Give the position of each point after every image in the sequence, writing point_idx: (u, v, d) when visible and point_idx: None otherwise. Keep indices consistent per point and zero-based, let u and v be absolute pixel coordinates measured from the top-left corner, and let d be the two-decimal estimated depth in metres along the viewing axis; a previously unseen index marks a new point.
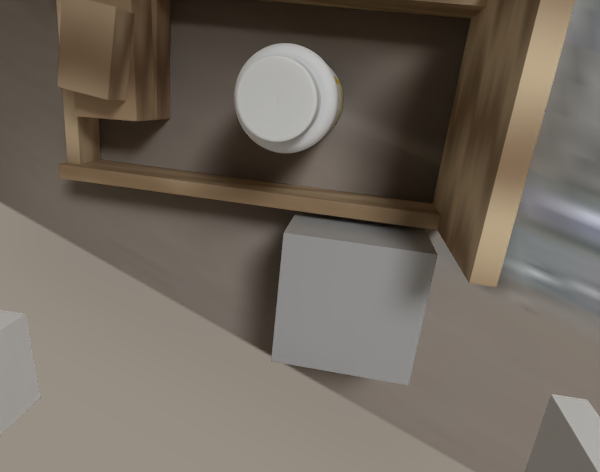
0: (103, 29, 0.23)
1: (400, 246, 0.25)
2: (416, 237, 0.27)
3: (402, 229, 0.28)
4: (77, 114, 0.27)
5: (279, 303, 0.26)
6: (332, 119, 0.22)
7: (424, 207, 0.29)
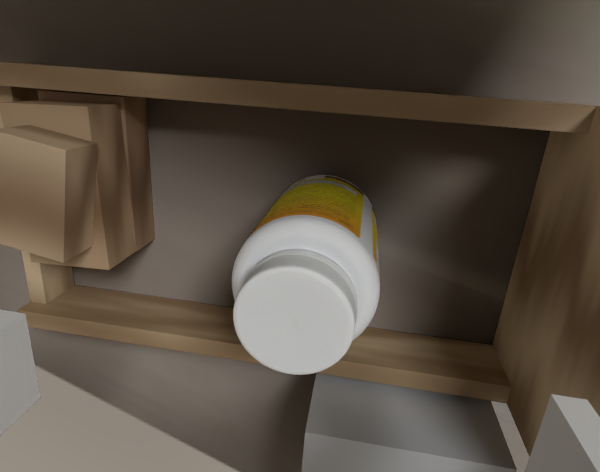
0: (51, 177, 0.17)
1: (463, 448, 0.18)
2: (479, 416, 0.20)
3: None
4: (32, 260, 0.21)
5: None
6: (372, 316, 0.15)
7: (485, 361, 0.22)
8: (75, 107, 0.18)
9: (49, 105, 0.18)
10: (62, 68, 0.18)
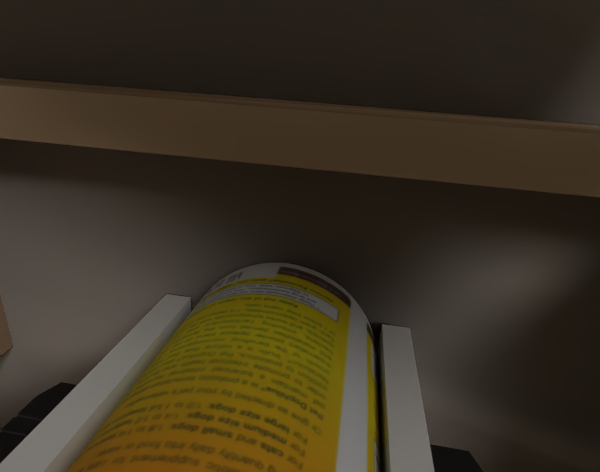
0: None
1: None
2: None
3: None
4: None
5: None
6: None
7: None
8: None
9: None
10: None
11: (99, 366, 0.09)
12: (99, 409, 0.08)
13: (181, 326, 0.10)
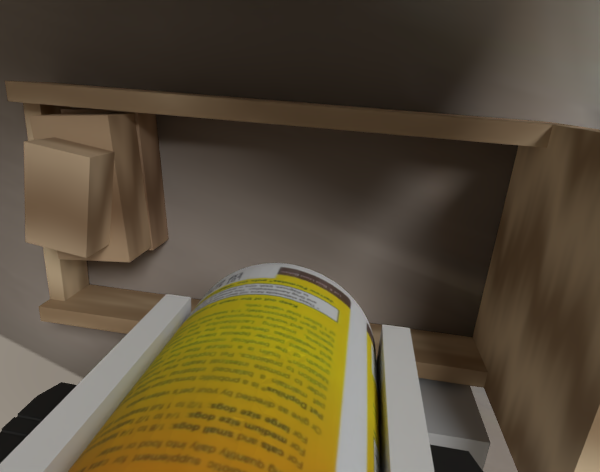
0: (77, 182, 0.19)
1: (443, 426, 0.21)
2: (459, 399, 0.23)
3: None
4: (60, 257, 0.23)
5: None
6: None
7: (465, 351, 0.24)
8: (97, 116, 0.20)
9: (73, 116, 0.20)
10: (88, 89, 0.21)
11: (98, 366, 0.09)
12: (99, 409, 0.08)
13: (182, 326, 0.10)
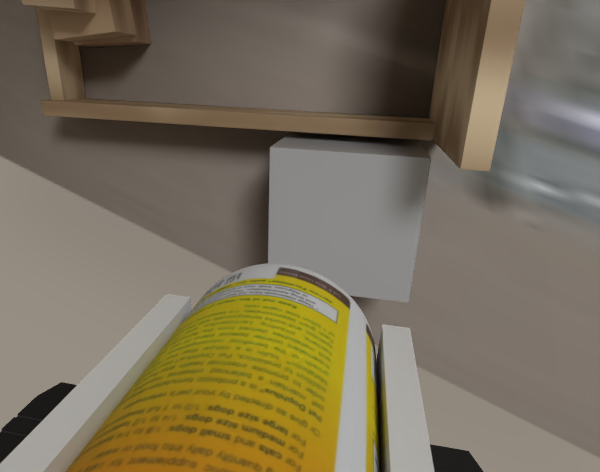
0: None
1: (392, 153, 0.24)
2: (411, 149, 0.26)
3: (397, 144, 0.27)
4: (55, 37, 0.26)
5: (271, 224, 0.26)
6: None
7: (419, 120, 0.27)
8: None
9: None
10: None
11: (98, 366, 0.09)
12: (99, 409, 0.08)
13: (180, 327, 0.10)
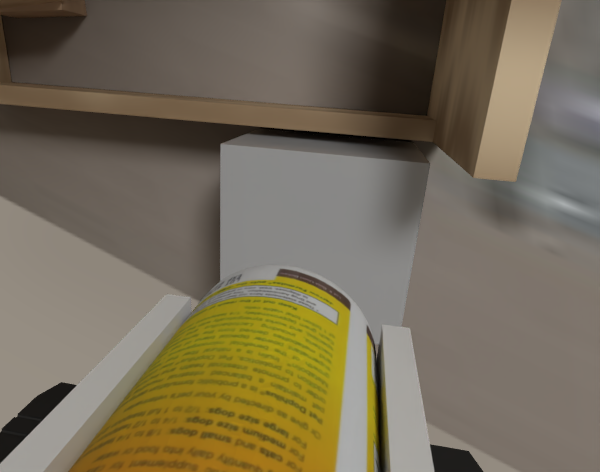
0: None
1: (380, 156, 0.18)
2: (404, 151, 0.20)
3: (387, 145, 0.22)
4: None
5: (223, 243, 0.20)
6: None
7: (415, 116, 0.22)
8: None
9: None
10: None
11: (98, 366, 0.09)
12: (99, 409, 0.08)
13: (180, 328, 0.10)
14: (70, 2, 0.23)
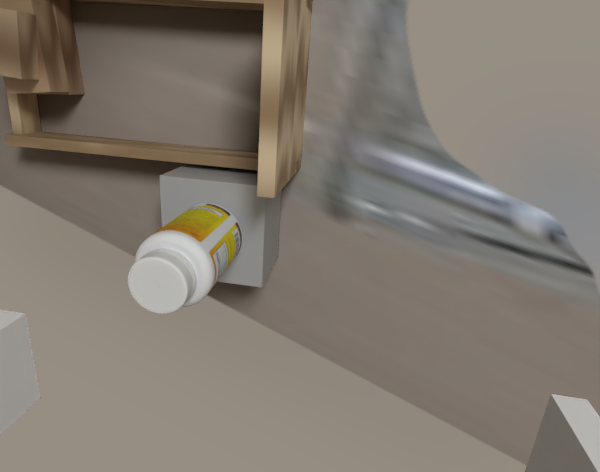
0: (11, 28, 0.33)
1: (243, 182, 0.34)
2: None
3: None
4: (8, 92, 0.37)
5: None
6: (210, 284, 0.28)
7: None
8: None
9: None
10: None
11: None
12: None
13: None
14: (74, 89, 0.39)
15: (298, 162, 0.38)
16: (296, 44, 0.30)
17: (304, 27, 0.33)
